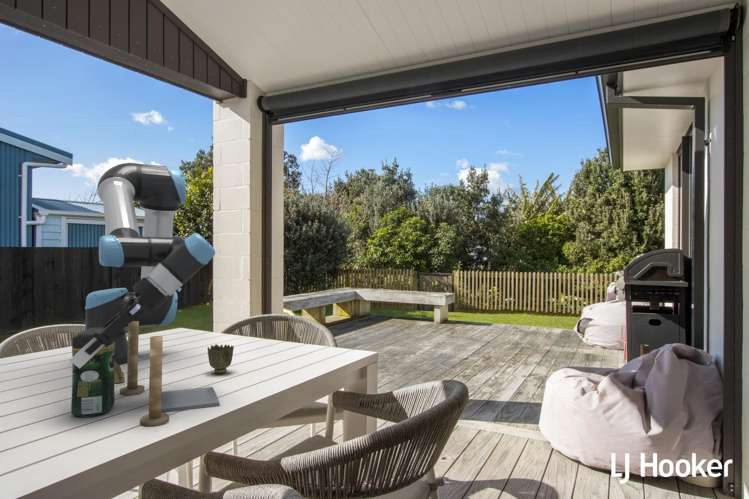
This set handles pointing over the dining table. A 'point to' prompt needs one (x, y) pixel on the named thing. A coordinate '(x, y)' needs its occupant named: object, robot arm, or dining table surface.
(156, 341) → the dowel
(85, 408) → the coffee jar
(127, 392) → the dowel
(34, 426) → the dining table surface
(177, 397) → the slate pad
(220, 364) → the cup
